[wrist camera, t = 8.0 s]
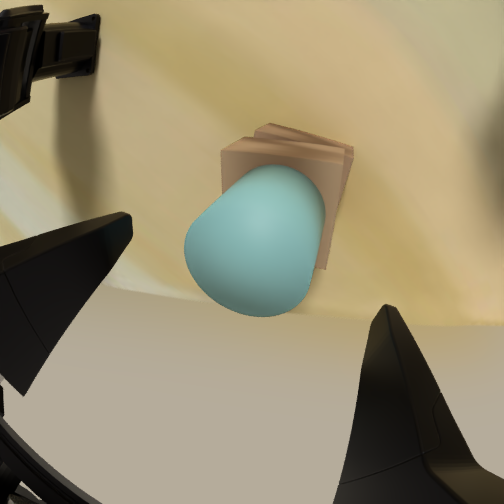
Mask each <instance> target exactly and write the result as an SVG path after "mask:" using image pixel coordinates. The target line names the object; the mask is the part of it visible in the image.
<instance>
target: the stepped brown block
mask: <svg viewBox="0 0 504 504" xmlns="http://www.w3.org/2000/svg"><path fill="white" fill-rule="evenodd" d="M344 152H345V149H344V148H338V147H332V146H325V145H319V144H311V143H304V142H296V141H287V140H277V139H267V138H254V137H243V138H241V139H240V140H238V141H236V142H234V143H232V144H231V145H229V146H227V147H225V148H224V149H222V150H221V173H222V194H223V193H225V192H226V191H227V190H228V189H229V188H230V187H231V186H232V185H233V184H234V183H236V182H237V181H238V180H239V179H240V178H241V177H242V176H243V175H244V174H246V173H247V172H248V171H250V170H252V169H254V168H256V167H259V166H263V165H271V164H276V165H283V166H288V167H290V168H293V169H295V170H297V171H299V172H301V173H303V174H304V175H305V176H307V177H308V178H309V179H310V180H311V181H312V182H313V183H314V184H315V185H316V187H317V188H318V190H319V191H320V193H321V195H322V198H323V201H324V204H325V211H326V217H325V223H324V228H323V232H322V237H321V241H320V245H319V250H318V254H317V258H316V262H315V266H314V267H315V268H320V269H325V270H326V266H327V261H328V256H329V251H330V246H331V240H332V235H333V229H334V223H335V218H336V211H337V205H338V199H339V192H340V185H341V178H342V171H343V163H344Z"/></svg>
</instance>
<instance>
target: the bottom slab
mask: <svg viewBox="0 0 504 504" xmlns="http://www.w3.org/2000/svg"><path fill="white" fill-rule="evenodd" d="M254 138H267V139H277V140H287V141H296V142H304V143H311V144H319V145H325V146H332V147H338V148H344V149H345V152H344V163H343V171H342V178H341V185H340V192H339V199H338V205H339V202H340V199H341V196H342V193H343V190H344V187H345V184H346V181H347V178H348V175H349V172H350V168H351V165H352V162H353V159H354V155H353V147H352V146H349V145H346V144H343V143H340V142H337V141H333V140H330V139H327V138H324V137H320V136H317V135H314V134H310V133H307V132H303V131H299V130H295V129H292V128H288V127H284V126H280V125H276V124H272V123H268V124H266V125H264V126H262V127H260V128H258V129H257V130H255V133H254ZM338 205H337V208H338Z"/></svg>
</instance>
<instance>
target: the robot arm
mask: <svg viewBox="0 0 504 504" xmlns="http://www.w3.org/2000/svg"><path fill="white" fill-rule="evenodd" d="M48 16H49V13H44V10H43V5H31V6H22V7H16V8H10V9H5V10H3V11H2V12H1V13H0V120H1V119H2V118H4V117H5V116H7V115H9V114H10V113H12V112H13V111H15V110H17V109H18V108H20V107H22V106H24V105H25V104H27V103H29V102H30V97H31V96H30V91H31V84H32V82H35V81H38V80H42V79H47V78H51V77H56V79H59V78H66V77H75V76H85V75H91V74H92V73H93V72H94V63H95V52H96V42H97V34H98V26H99V20H100V15H99V14H92V15H89V16H85V17H82V18H79V19H76V20H73V21H70V22H66V23H50V24H45V23H46V20H47V19H48ZM132 237H133V226H132V217H131V215H130V214H128V213H125V212H117V213H113V214H109V215H105V216H102V217H98V218H94V219H90V220H87V221H83V222H80V223H76V224H73V225H69V226H66V227H62V228H59V229H56V230H53V231H49V232H46V233H43V234H40V235H38V236H33V237H30V238H27V239H24V240H21V241H18V242H14V243H11V244H7V245H4V246H0V383H1V382H2V380H3V379H4V378H5V379H6V380H7V381H8V382H9V383H10V384H11V385H12V386H13V387H14V388H15V389H16V390H17V391H18V392H19V393H20V394H21V395H22V396H25V394H26V393H27V391H28V389H29V388H30V386H31V384H32V382H33V381H34V379H35V377H36V376H37V374H38V372H39V371H40V369H41V368H42V366H43V364H44V363H45V361H46V359H47V358H48V356H49V355H50V353H51V352H52V350H53V349H54V347H55V346H56V344H57V342H58V341H59V340H60V338H61V336H62V335H63V334H64V332H65V330H66V329H67V328H68V326H69V325H70V324H71V322H72V320H73V319H74V318H75V317H76V315H77V314H78V312H79V311H80V310H81V308H82V307H83V306H84V304H85V303H86V302H87V300H88V299H89V298H90V296H91V295H92V293H93V292H94V291H95V290H96V288H97V287H98V286H99V285H100V283H101V282H102V281H103V279H104V278H105V277H106V276H107V274H108V273H109V272H110V270H111V269H112V268H113V266H114V265H115V263H116V262H117V260H118V259H119V257H120V256H121V254H122V253H123V251H124V250H125V248H126V247H127V245H128V244H129V242H130V241H131V239H132ZM3 402H4V401H3V387H2V386H1V385H0V504H102V503H100V502H99V501H97V500H96V499H94V498H93V497H91V496H90V495H88V494H87V493H85V492H84V491H83V490H81V489H79V488H78V487H77V486H76V485H74V484H73V483H72V482H70V481H69V480H68V479H66V478H65V477H64V476H63V475H61V474H60V473H59V472H58V471H57V470H55V469H54V468H53V467H52V466H51V465H49V464H48V463H47V462H46V461H45V460H44V459H43V458H41V457H40V456H39V455H38V454H37V453H36V452H35V451H34V450H33V449H32V448H31V447H30V446H29V445H28V444H27V443H26V442H24V440H23V439H22V438H21V437H19V435H18V434H17V433H16V432H15V431H14V430H13V429H12V428H11V427H10V426H9V425H8V423H6V421H5V420H4V419H3V416H4V403H3ZM21 481H22V482H23V483H24V484H25V485H26V486H28V487H29V488H30V489H31V490H32V491H33V492H34V493H35V494H36V495H37V496H38V497H40V498H41V499H42V500H38V499H37V498H36V497H35V496H34V495H33V494H32V493H31V492H30V491H28V490H27V489H25V488H24V487H22V486H21V485H19V483H20V482H21ZM333 504H504V479H502V478H500V477H499V476H496V475H495V474H493V473H491V472H489V471H487V470H485V469H484V468H482V467H481V466H480V465H479V464H478V463H477V462H476V460H475V459H474V457H473V455H472V453H471V451H470V449H469V447H468V445H467V443H466V441H465V439H464V437H463V435H462V433H461V431H460V430H459V428H458V426H457V424H456V422H455V420H454V418H453V416H452V414H451V412H450V410H449V407H448V405H447V403H446V401H445V399H444V397H443V395H442V393H441V392H440V389H439V386H438V384H437V382H436V380H435V378H434V376H433V374H432V372H431V370H430V368H429V366H428V364H427V362H426V360H425V358H424V357H423V354H422V353H421V351H420V349H419V347H418V345H417V343H416V341H415V340H414V338H413V336H412V334H411V332H410V331H409V329H408V327H407V325H406V323H405V322H404V320H403V318H402V317H401V315H400V313H399V311H398V310H397V308H396V307H394V306H391V305H388V304H384V305H383V306H382V307H381V309H380V310H379V312H378V313H377V315H376V316H375V318H374V319H373V321H372V323H371V326H370V331H369V335H368V340H367V345H366V349H365V354H364V358H363V363H362V368H361V374H360V382H359V389H358V396H357V402H356V408H355V414H354V419H353V425H352V430H351V435H350V440H349V444H348V449H347V453H346V458H345V462H344V466H343V470H342V474H341V478H340V481H339V485H338V488H337V492H336V495H335V498H334V501H333Z"/></svg>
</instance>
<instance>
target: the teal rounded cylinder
mask: <svg viewBox="0 0 504 504" xmlns="http://www.w3.org/2000/svg"><path fill="white" fill-rule="evenodd" d="M325 217H326V211H325V204H324V201H323V198H322V195H321V193H320V191H319V190H318V188H317V187H316V185H315V184H314V183H313V182H312V181H311V180H310V179H309V178H308V177H307V176H305V175H304V174H303V173H301V172H299V171H297V170H295V169H293V168H290V167H288V166H283V165H276V164H271V165H263V166H259V167H256V168H254V169H252V170H250V171H248V172H247V173H246V174H244V175H243V176H242V177H241V178H240V179H239V180H238V181H237V182H236V183H234V184H233V185H232V186H231V187H230V188H229V189H228V190H227V191H226V192H225V193H223V194H222V195H221V196H220V197H219V198H218V199H217V200H216V201H215V202H214V203H213V204H212V205H211V206H210V207H208V208H207V209H206V210H205V211H204V212H203V213H202V214H201V215H200V216H199V217H198V218H197V219H196V220H195V221H194V222H193V223H192V225H191V226H190V228H189V230H188V232H187V234H186V238H185V244H184V254H185V259H186V263H187V266H188V269H189V271H190V273H191V275H192V277H193V278H194V280H195V281H196V283H197V284H198V285H199V287H200V288H201V289H202V290H203V291H204V292H205V293H206V294H207V295H208V296H209V297H211V298H212V299H213V300H214V301H216V302H217V303H219V304H220V305H222V306H224V307H226V308H228V309H230V310H232V311H235V312H237V313H241V314H244V315H248V316H256V317H270V316H276V315H280V314H283V313H285V312H288V311H290V310H291V309H293V308H294V307H296V306H297V305H298V304H299V303H300V302H301V301H302V300H303V298H304V297H305V295H306V293H307V291H308V289H309V286H310V282H311V278H312V274H313V270H314V266H315V262H316V258H317V254H318V250H319V245H320V241H321V237H322V232H323V228H324V223H325Z"/></svg>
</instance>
